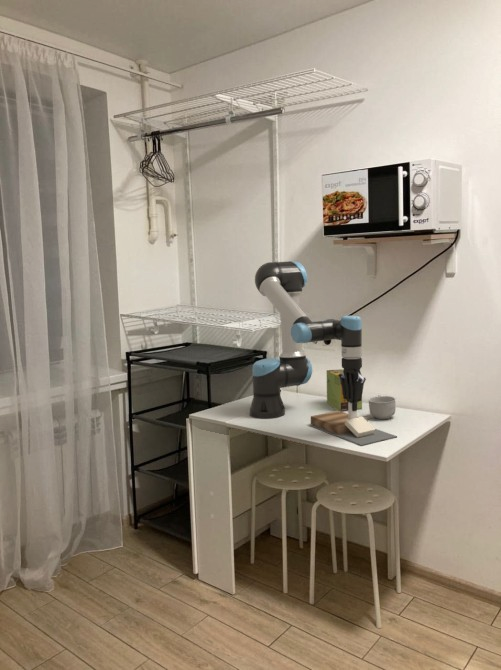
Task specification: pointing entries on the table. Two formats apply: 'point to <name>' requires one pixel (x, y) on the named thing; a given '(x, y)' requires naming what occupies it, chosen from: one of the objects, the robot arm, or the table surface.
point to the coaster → (360, 427)
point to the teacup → (382, 406)
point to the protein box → (337, 391)
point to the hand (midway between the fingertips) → (352, 418)
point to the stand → (332, 421)
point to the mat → (362, 440)
